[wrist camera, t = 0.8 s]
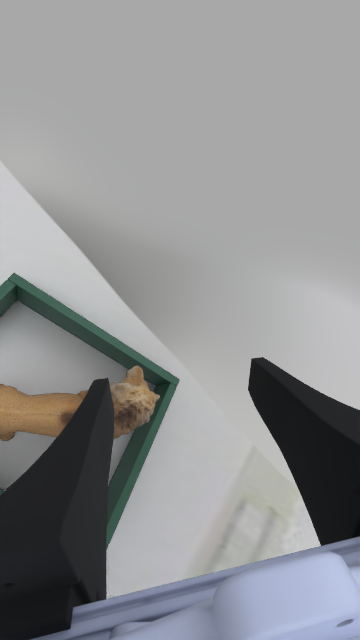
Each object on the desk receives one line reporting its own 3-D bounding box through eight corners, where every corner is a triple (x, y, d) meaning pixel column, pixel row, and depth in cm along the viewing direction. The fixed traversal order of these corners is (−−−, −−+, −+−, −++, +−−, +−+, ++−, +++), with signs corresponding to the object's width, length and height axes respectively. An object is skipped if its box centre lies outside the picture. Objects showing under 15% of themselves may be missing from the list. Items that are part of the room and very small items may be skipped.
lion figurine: (124, 375, 27) (163, 360, 20) (127, 429, 26) (170, 435, 19) (-64, 388, 20) (-111, 372, 13) (-74, 466, 19) (-134, 498, 11)
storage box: (92, 539, 22) (103, 558, 19) (-142, 447, 17) (-174, 454, 14) (164, 383, 29) (180, 379, 27) (14, 288, 25) (14, 272, 22)
